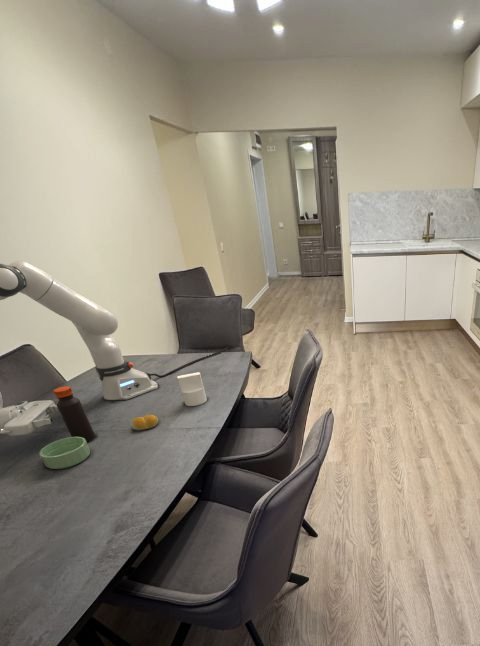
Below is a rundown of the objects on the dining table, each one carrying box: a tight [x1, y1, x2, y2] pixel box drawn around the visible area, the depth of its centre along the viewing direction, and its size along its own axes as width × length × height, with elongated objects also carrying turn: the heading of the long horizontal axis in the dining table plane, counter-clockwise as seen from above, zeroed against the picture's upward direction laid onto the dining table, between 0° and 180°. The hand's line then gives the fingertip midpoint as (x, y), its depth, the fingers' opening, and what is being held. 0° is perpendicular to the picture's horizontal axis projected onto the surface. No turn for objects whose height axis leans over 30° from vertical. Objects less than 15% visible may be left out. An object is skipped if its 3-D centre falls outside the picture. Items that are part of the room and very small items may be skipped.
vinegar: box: [53, 385, 96, 443], centre depth 137 cm, size 7×7×20 cm
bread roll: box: [131, 414, 159, 431], centre depth 149 cm, size 8×9×4 cm
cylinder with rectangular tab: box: [176, 371, 208, 407], centre depth 165 cm, size 9×9×12 cm
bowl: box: [39, 436, 91, 470], centre depth 130 cm, size 13×13×5 cm
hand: (57, 414), depth 136 cm, fingers open, 8 cm apart
